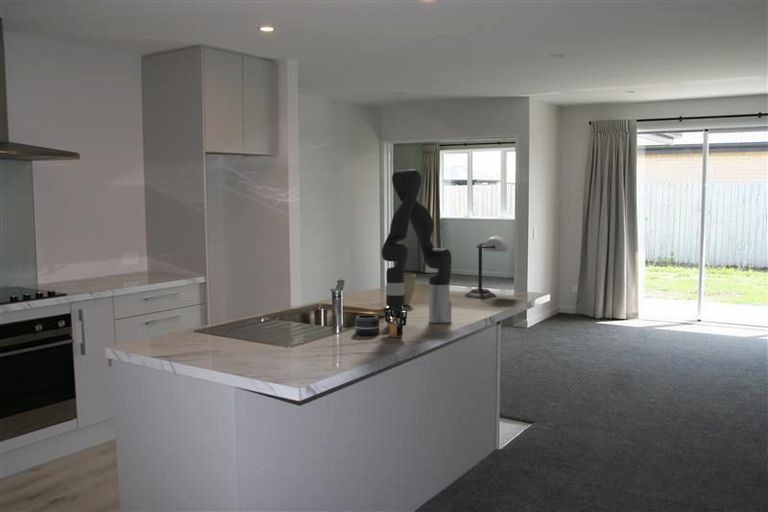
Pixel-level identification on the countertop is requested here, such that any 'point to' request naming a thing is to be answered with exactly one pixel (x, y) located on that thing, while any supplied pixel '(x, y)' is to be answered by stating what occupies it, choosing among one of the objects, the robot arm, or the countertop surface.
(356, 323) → the barrel
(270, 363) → the countertop surface
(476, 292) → the lamp
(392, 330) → the wooden block
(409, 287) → the plant pot
